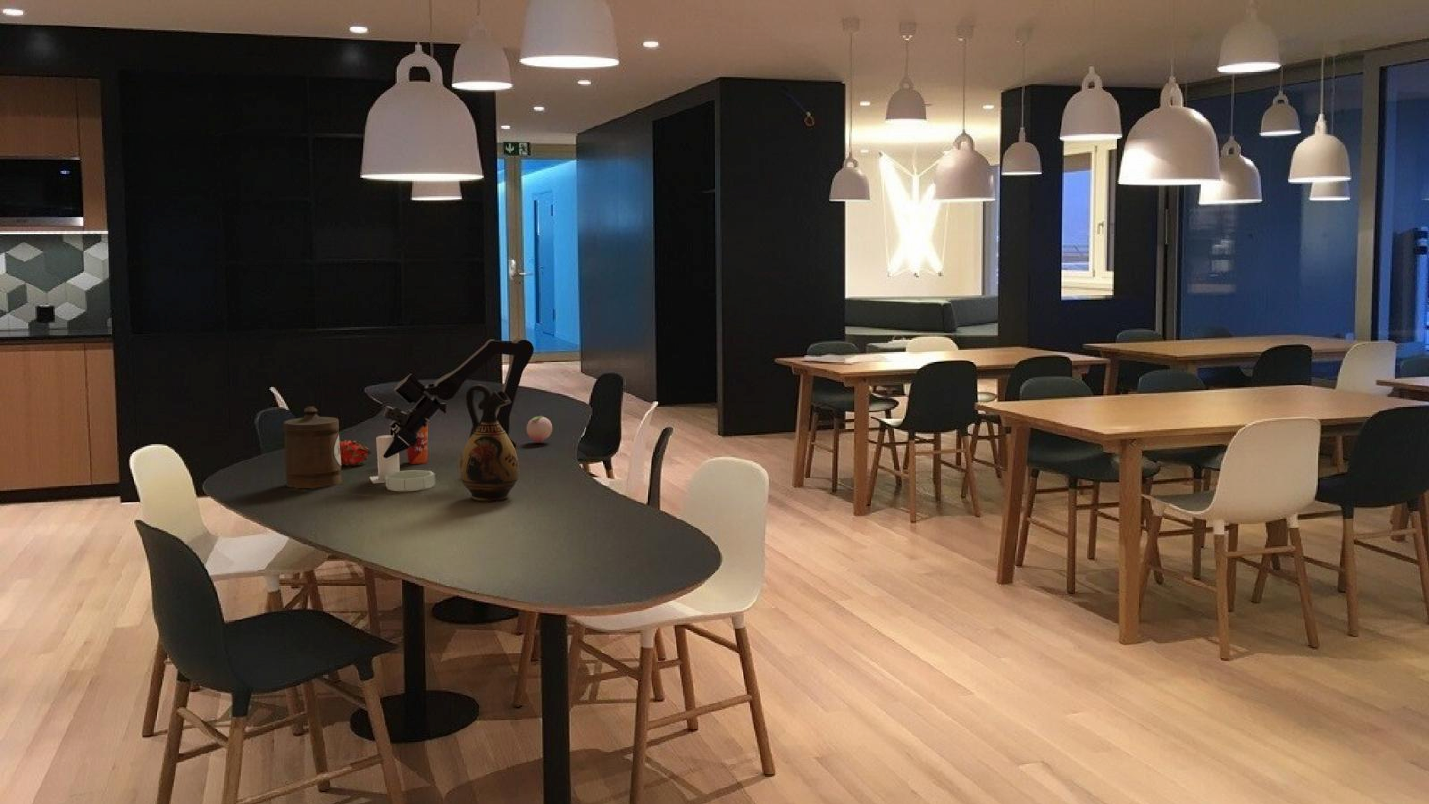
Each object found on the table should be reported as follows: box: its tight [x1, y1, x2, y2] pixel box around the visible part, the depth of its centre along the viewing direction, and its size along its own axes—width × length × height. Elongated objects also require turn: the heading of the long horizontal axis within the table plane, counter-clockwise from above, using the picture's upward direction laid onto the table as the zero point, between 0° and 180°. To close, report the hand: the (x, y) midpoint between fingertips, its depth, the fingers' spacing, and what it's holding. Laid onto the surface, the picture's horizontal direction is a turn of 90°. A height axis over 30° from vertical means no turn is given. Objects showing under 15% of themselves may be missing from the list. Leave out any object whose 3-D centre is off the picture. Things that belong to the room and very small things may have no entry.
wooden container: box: [283, 406, 343, 489], centre depth 349 cm, size 15×15×22 cm
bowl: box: [385, 469, 436, 492], centre depth 343 cm, size 13×13×4 cm
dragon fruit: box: [339, 439, 372, 467], centre depth 379 cm, size 8×8×12 cm
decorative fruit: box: [526, 413, 553, 444], centre depth 413 cm, size 9×8×10 cm
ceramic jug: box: [459, 383, 520, 503], centre depth 327 cm, size 17×15×30 cm
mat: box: [369, 475, 386, 484], centre depth 355 cm, size 10×10×1 cm
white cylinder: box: [375, 434, 401, 481], centre depth 354 cm, size 6×6×12 cm
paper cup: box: [406, 421, 429, 465], centre depth 381 cm, size 8×8×14 cm
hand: (383, 455), depth 354 cm, fingers open, 6 cm apart
